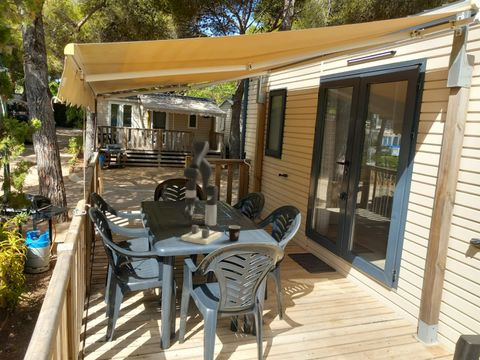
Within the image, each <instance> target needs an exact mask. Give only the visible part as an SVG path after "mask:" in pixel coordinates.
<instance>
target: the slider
mask: <svg viewBox="0 0 480 360" xmlns="http://www.w3.org/2000/svg"><path fill="white" fill-rule="evenodd" d="M202 229H203V230H202V237H204V238H208V237H209V230H210V229H206V228H202Z"/></svg>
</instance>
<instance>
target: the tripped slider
mask: <svg viewBox="0 0 480 360" xmlns="http://www.w3.org/2000/svg"><path fill="white" fill-rule="evenodd" d="M199 229H200V227H199V225H197V224H192V225H191V231H190V232H191V233H198V232H199Z"/></svg>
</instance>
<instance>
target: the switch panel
mask: <svg viewBox="0 0 480 360" xmlns="http://www.w3.org/2000/svg"><path fill="white" fill-rule="evenodd" d="M203 229H204V228H199V232H198V233H191V231H190V232H188V233H185V234H184V235H181V241H184V242H188V243H189V242H190V243H193V244H194V243H195V244H198V245H199V244H200V245H208V244H211V243H213V242H214V241H216V240H217V239H219V238H221V237H222V232H221V231H216V230H210V229H208V230H209V237H208V238H204V237H202V230H203Z"/></svg>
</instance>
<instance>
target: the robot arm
mask: <svg viewBox="0 0 480 360" xmlns="http://www.w3.org/2000/svg"><path fill="white" fill-rule="evenodd" d="M209 149H210V144H209V142H208V140H196V141H194V142H193V150H194V154H195V155H194V156H193V157H192V158H191V161H190V163H189V164H188V165H187V166H186V167H185V169H184V171H183V175H184V177H185V178H186V179H192V180H191V181H186V184H185V201H184V202H185V203H186V207H185V208H184V212H185V213H186V214H185V215H187V219H188V221H192V220H193V214H195V212H196V209H197V205H195V203H196V202H197V182H198V179H199V176H200V177H201V181H202V187H203V192H204V195H205V196H207V197H211V198H210V199H207V200H206V201H205V212H204V214H205V215H204V216H205V217H204V225H205V226H211V227H212V226H216V225H217V215H218V214H217V213H218V212H217V211H218V210H217V207H218V206H217V205H218V199H219V197H218V194H219V188H218V186H217V185H214V184H213V185H212V184H210V183H209V180H210V178H211V177H212V174H213V171H212V165H211V164H210V161H208V160H207V159H206V158H205V157H206V155H207V154H208V152H209Z"/></svg>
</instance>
